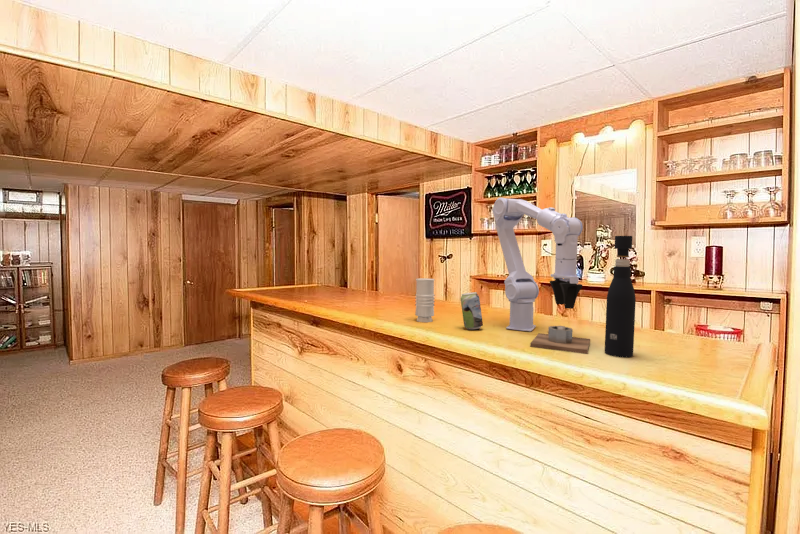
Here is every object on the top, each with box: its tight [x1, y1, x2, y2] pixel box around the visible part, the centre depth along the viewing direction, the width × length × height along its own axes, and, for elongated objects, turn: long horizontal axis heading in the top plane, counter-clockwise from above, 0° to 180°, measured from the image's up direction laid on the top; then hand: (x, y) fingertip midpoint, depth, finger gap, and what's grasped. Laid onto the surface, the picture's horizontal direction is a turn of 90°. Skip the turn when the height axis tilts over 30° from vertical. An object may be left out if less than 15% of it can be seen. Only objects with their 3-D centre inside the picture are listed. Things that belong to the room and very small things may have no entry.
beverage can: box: [460, 291, 484, 330], centre depth 129 cm, size 6×7×12 cm
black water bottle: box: [604, 235, 637, 358], centre depth 100 cm, size 6×6×30 cm
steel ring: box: [547, 325, 574, 344], centre depth 110 cm, size 6×6×4 cm
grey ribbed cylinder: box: [414, 277, 436, 323], centre depth 142 cm, size 7×7×15 cm
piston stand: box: [529, 325, 591, 355], centre depth 110 cm, size 14×14×5 cm
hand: (564, 306), depth 115 cm, fingers open, 7 cm apart
